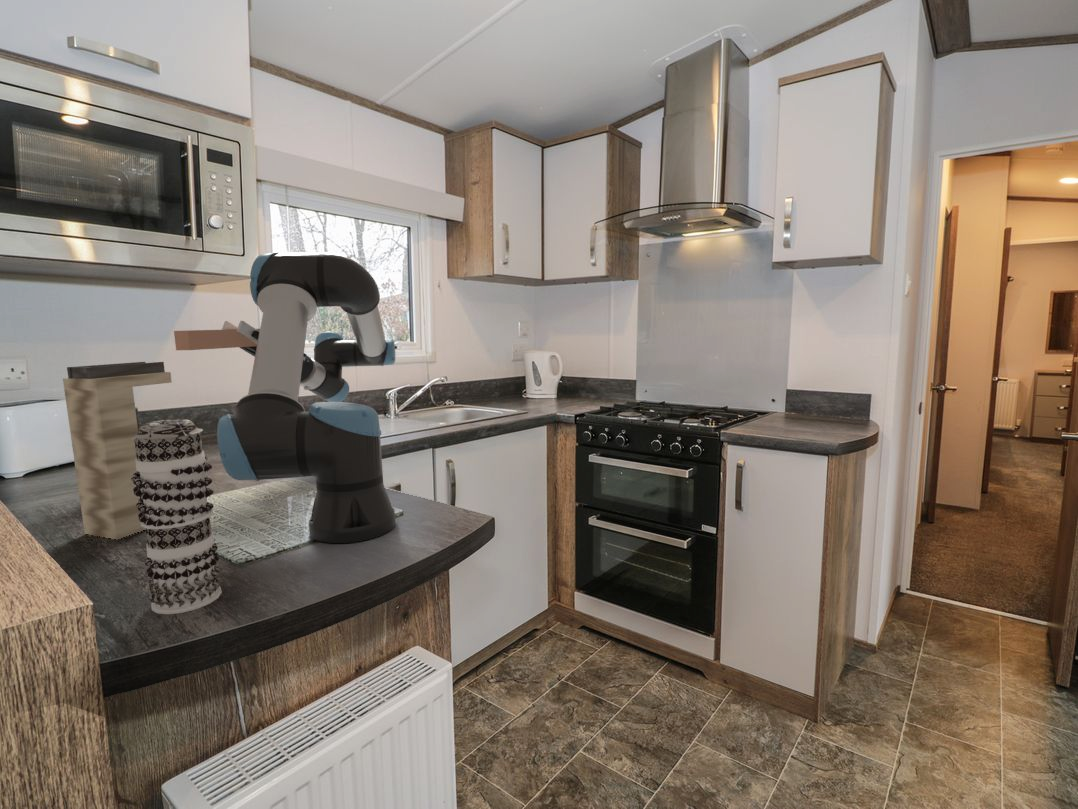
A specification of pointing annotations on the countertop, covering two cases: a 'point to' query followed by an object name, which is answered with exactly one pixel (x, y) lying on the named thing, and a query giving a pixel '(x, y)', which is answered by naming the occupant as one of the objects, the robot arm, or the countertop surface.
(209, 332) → the reddish brown bar
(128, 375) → the shelf stand
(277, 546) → the countertop surface
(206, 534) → the decorative candle
